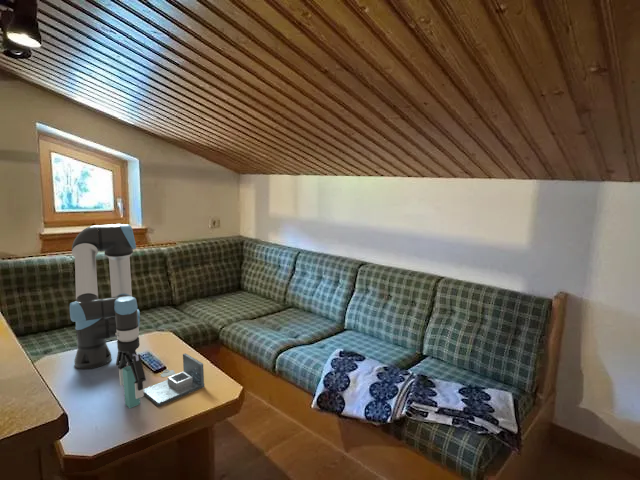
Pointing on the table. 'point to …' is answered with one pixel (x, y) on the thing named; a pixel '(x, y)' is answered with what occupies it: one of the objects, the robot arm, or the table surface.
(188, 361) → the cup bracket
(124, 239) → the robot arm
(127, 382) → the teal block
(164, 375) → the mounting bracket
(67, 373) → the table surface
